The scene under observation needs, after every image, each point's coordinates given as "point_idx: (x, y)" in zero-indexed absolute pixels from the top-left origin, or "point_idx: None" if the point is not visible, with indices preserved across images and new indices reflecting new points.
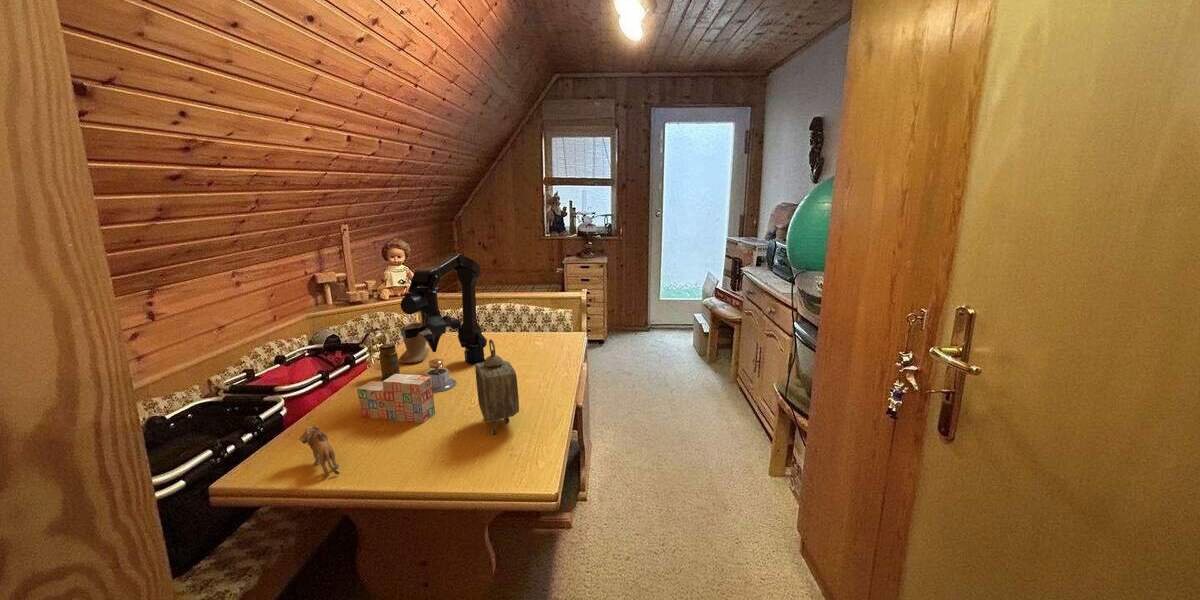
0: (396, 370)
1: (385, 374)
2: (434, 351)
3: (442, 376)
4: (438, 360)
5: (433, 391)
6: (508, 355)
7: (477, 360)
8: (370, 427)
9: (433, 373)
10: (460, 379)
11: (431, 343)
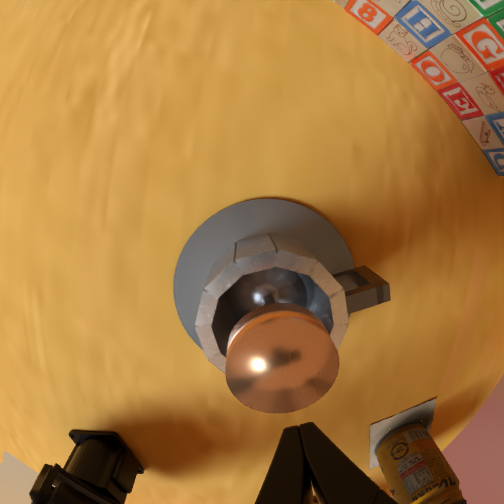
0: (398, 449)
1: (427, 433)
2: (303, 426)
3: (245, 253)
4: (258, 376)
5: (303, 208)
6: (19, 425)
7: (92, 441)
8: None
9: None
10: (154, 319)
11: (366, 500)
